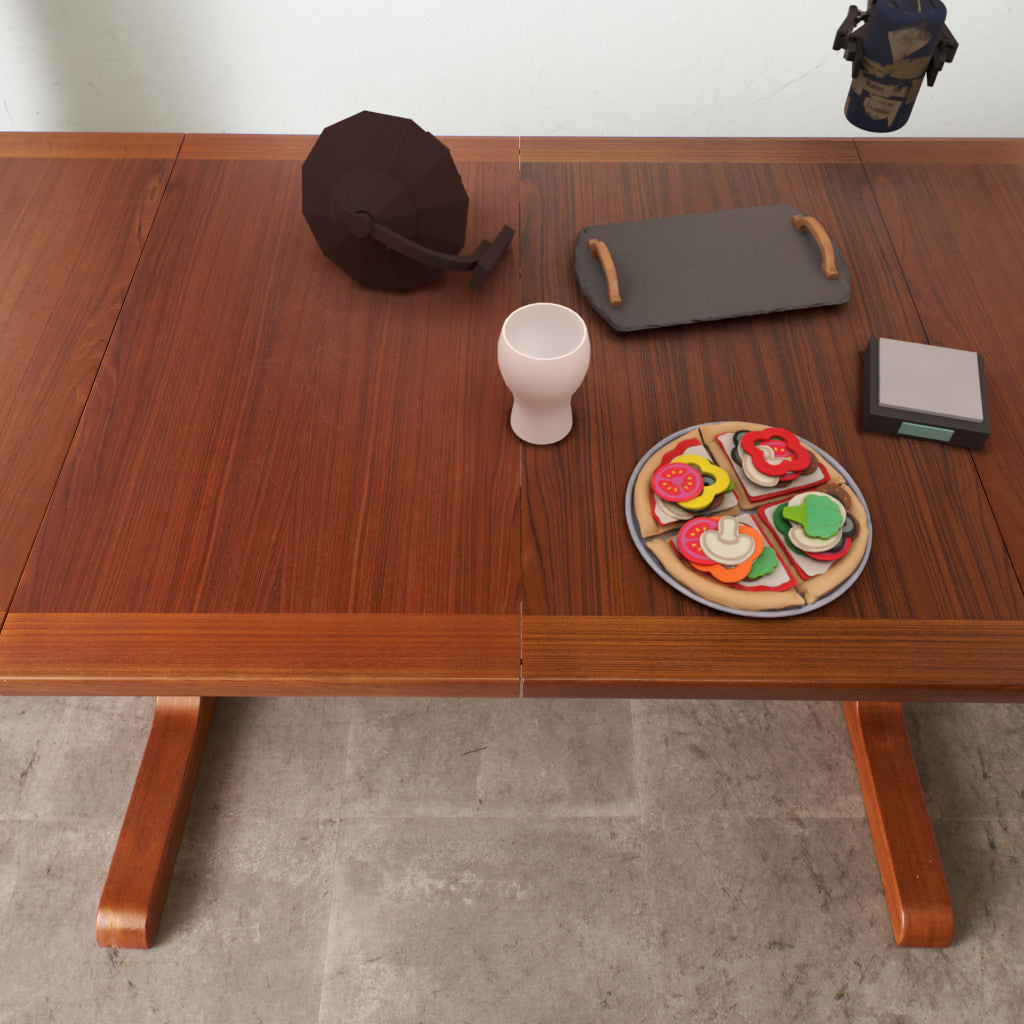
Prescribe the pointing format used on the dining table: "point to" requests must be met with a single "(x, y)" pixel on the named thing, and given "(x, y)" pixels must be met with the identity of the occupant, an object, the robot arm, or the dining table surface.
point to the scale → (925, 393)
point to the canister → (894, 63)
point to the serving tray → (708, 267)
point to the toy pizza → (748, 519)
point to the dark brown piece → (391, 205)
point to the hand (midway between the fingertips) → (895, 72)
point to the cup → (543, 368)
